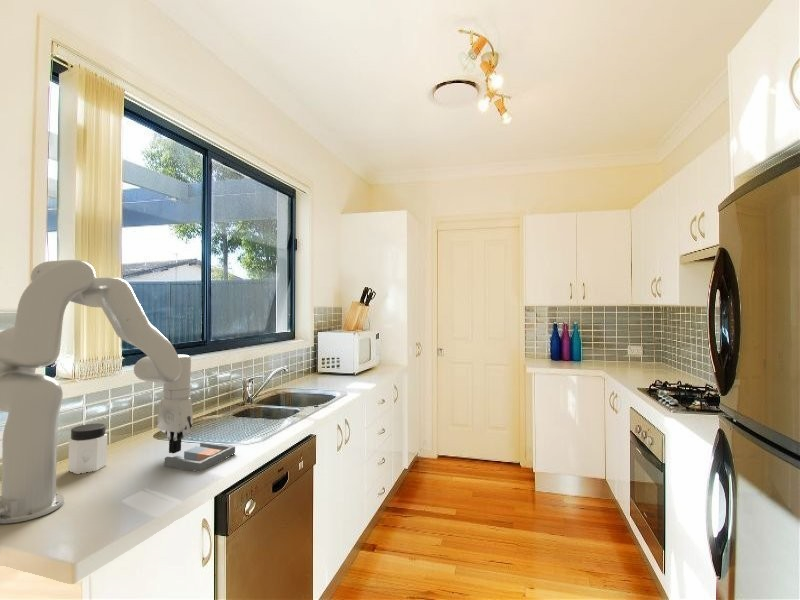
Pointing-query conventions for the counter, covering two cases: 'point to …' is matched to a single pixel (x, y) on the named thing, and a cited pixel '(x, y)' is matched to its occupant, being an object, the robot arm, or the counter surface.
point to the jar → (87, 448)
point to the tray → (204, 463)
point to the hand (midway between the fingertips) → (174, 451)
